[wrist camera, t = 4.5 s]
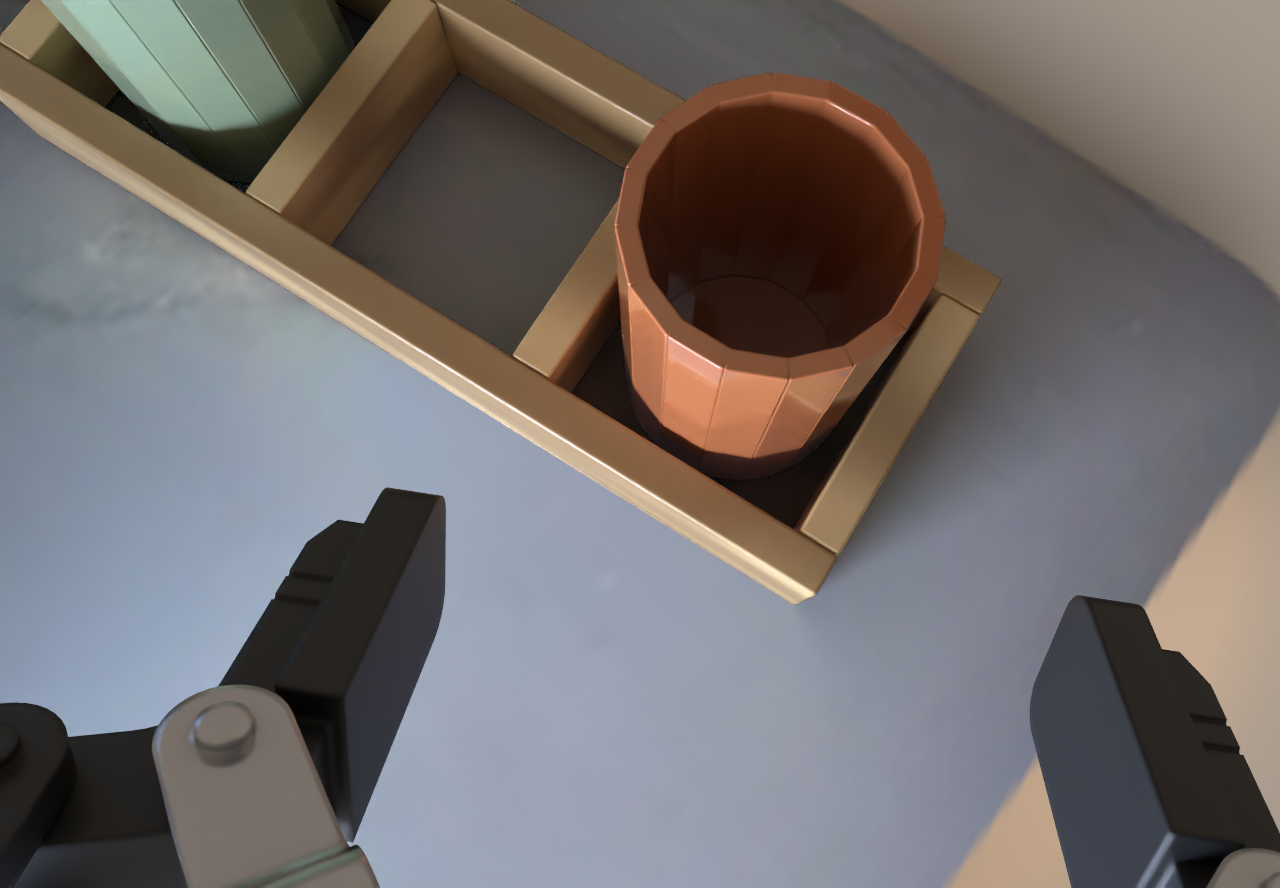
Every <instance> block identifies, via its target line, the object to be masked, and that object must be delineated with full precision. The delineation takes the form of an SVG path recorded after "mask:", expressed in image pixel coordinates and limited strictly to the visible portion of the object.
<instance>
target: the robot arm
mask: <svg viewBox="0 0 1280 888" xmlns="http://www.w3.org/2000/svg"><path fill="white" fill-rule="evenodd" d="M445 542H446V506H445V500H444V497H443V496H440V495H433V494H427V493H420V492H414V491H407V490H400V489H394V488H385V489H384V490H383V491H382V492H381V494H380V496H379V497H378V499H377V501H376V503H375V505H374V506H373V508H372V510H371V512H370V514H369V515H368V517H367V519H366V521H365V523H364V524H362V523H356V522H350V521H343V520H337V521H336V522H334V523H333V524H332V525H330V526H329V527H327V528H326V529H325V530H323V531H322V532H320V533H319V534H318V535H316V536H315V537H313V538H312V539H311V540H309V541H308V542H307V543H306V545H305V546H304V548H303V549H302V551H301V553H300V554H299V556H298V558H297V559H296V561H295V562H294V564H293V566H292V567H291V569H290V573H289V576H286V577H285V579H284V580H283V582H282V584H281V585H280V587H279V589H278V590H277V592H276V595H275V599H274V600H273V599H272V600H271V602H270V603H269V605H268V606H267V608H266V610H265V611H264V613H263V615H262V616H261V618H260V619H259V621H258V623H257V624H256V626H255V628H254V629H253V631H252V632H251V634H250V636H249V637H248V639H247V641H246V642H245V644H244V646H243V647H242V649H241V650H240V652H239V654H238V655H237V657H236V659H235V660H234V662H233V663H232V665H231V667H230V668H229V670H228V672H227V673H226V675H225V676H224V678H223V680H222V681H221V683H220V684H219V686H218V687H215V688H211V689H208V690H205V691H202V692H199V693H197V694H195V695H193V696H191V697H189V698H187V699H185V700H184V701H182V702H181V703H179V704H178V705H176V706H175V707H174V708H173V709H172V710H171V711H170V712H168V714H167V715H166V716H165V717H164V718H163V719H162V721H161V722H160V724H159V725H158V726H154V727H150V728H146V729H140V730H134V731H125V732H115V733H105V734H95V735H85V736H75V737H68V735H67V731H66V727H65V725H64V724H63V722H62V720H61V719H60V718H59V717H58V716H57V715H56V714H55V713H53V712H52V711H50V710H48V709H47V708H44V707H41V706H38V705H34V704H28V703H2V704H0V888H380V887H379V884H378V882H377V880H376V877H375V875H374V873H373V870H372V868H371V866H370V864H369V861H368V859H367V858H366V856H365V854H364V852H363V851H362V849H361V848H360V847H359V846H358V845H354V846H352V847H349V845H348V844H347V842H346V841H349V842H353V841H354V838H355V836H356V833H357V831H358V828H359V826H360V823H361V821H362V818H363V816H364V813H365V811H366V808H367V806H368V803H369V801H370V798H371V796H372V793H373V791H374V788H375V786H376V783H377V781H378V778H379V776H380V773H381V771H382V768H383V766H384V763H385V761H386V758H387V756H388V753H389V751H390V748H391V746H392V743H393V741H394V738H395V736H396V733H397V731H398V728H399V726H400V723H401V721H402V718H403V716H404V713H405V711H406V708H407V706H408V703H409V701H410V698H411V696H412V693H413V691H414V688H415V686H416V683H417V681H418V678H419V676H420V673H421V671H422V668H423V666H424V663H425V661H426V658H427V656H428V653H429V651H430V648H431V646H432V643H433V641H434V638H435V636H436V633H437V630H438V627H439V623H440V619H441V614H442V609H443V603H444V595H445ZM1226 720H1227V719H1226V717H1225V715H1224V712H1223V710H1222V708H1221V706H1220V704H1219V702H1218V700H1217V697H1216V695H1215V693H1214V691H1213V689H1212V687H1211V685H1210V684H1209V683H1208V682H1207V681H1206V680H1205V679H1204V677H1203V676H1202V675H1201V674H1200V673H1199V672H1198V671H1197V670H1196V669H1195V668H1194V667H1193V666H1192V665H1191V664H1190V663H1189V662H1188V660H1187V659H1186V658H1185V657H1184V656H1183V655H1182V654H1181V653H1180V652H1177V651H1170V650H1164V649H1161V646H1160V644H1159V642H1158V639H1157V637H1156V635H1155V632H1154V630H1153V628H1152V625H1151V623H1150V621H1149V618H1148V616H1147V614H1146V612H1145V610H1144V609H1143V608H1142V607H1141V606H1140V605H1137V604H1132V603H1125V602H1119V601H1112V600H1106V599H1099V598H1093V597H1086V596H1080V595H1079V596H1075V597H1074V598H1073V599H1072V600H1071V601H1070V602H1069V604H1068V606H1067V608H1066V610H1065V612H1064V615H1063V617H1062V619H1061V622H1060V624H1059V626H1058V629H1057V631H1056V633H1055V636H1054V638H1053V640H1052V643H1051V645H1050V648H1049V650H1048V652H1047V655H1046V657H1045V659H1044V662H1043V664H1042V666H1041V669H1040V671H1039V673H1038V676H1037V678H1036V681H1035V683H1034V687H1033V691H1032V696H1031V703H1030V725H1031V731H1032V736H1033V740H1034V744H1035V747H1036V751H1037V755H1038V759H1039V763H1040V767H1041V771H1042V775H1043V779H1044V782H1045V786H1046V790H1047V794H1048V798H1049V802H1050V805H1051V810H1052V814H1053V817H1054V821H1055V825H1056V829H1057V833H1058V837H1059V841H1060V845H1061V848H1062V852H1063V856H1064V860H1065V864H1066V868H1067V872H1068V876H1069V879H1070V883H1071V887H1072V888H1280V833H1279V831H1278V828H1277V826H1276V824H1275V822H1274V820H1273V818H1272V816H1271V814H1270V811H1269V809H1268V807H1267V805H1266V803H1265V801H1264V799H1263V796H1262V795H1261V792H1260V790H1259V788H1258V786H1257V783H1256V781H1255V779H1254V777H1253V775H1252V773H1251V770H1250V768H1249V766H1248V764H1247V762H1246V760H1245V758H1244V756H1243V755H1240V754H1239V749H1240V747H1239V745H1238V743H1237V740H1236V738H1235V736H1234V734H1233V732H1232V730H1231V727H1229V726H1226Z"/></svg>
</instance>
